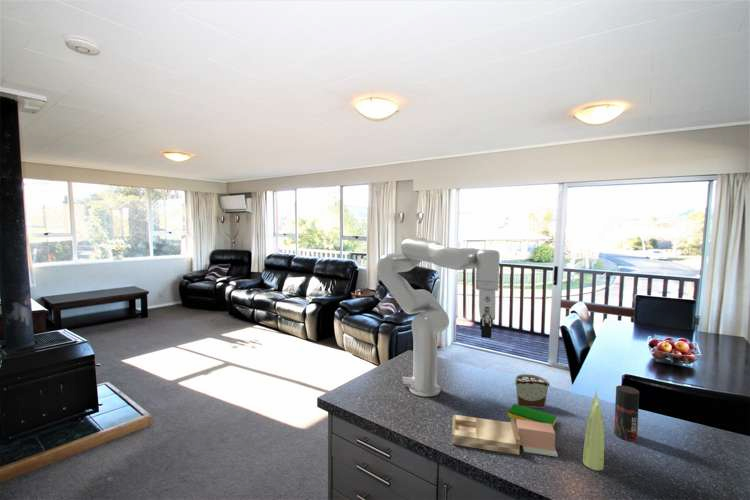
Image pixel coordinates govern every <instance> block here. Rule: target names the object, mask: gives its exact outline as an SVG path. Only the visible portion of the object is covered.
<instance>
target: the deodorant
mask: <svg viewBox="0 0 750 500" xmlns="http://www.w3.org/2000/svg"><path fill="white" fill-rule="evenodd" d="M639 402H640V391H639V389H636V388H634V387H631V386H627V385H617V386H616V387H615V403H614V404H615V405H614V406H615V409H614V422H613V423H614V425H613V427H614V428H613V434H614V436H616V437H617V438H618V439H621V440H623V441H627V442H637V440H638V428H639V426H638V424H639V409H640V408H639V406H640V403H639Z"/></svg>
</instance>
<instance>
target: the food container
mask: <svg viewBox="0 0 750 500" xmlns="http://www.w3.org/2000/svg"><path fill="white" fill-rule="evenodd" d="M513 384H514V385H515V386H516V387H515V388H516V400H517V402H516V404H517V405H520V406H524V407H527V408H537V407H541V409H545V408H546V402H547V401H546V400H547V394H548V389H549V387H550V382H549V380H548V379H546V378H544V377H542V376H539V375H534V374H526V373H525V374H524V373H522V374H519V375H516V377H515V378H514V382H513Z"/></svg>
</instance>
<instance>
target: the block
mask: <svg viewBox="0 0 750 500" xmlns="http://www.w3.org/2000/svg"><path fill="white" fill-rule="evenodd" d="M515 423H516V427H517V431H518V434H519V438H520V446H528V447H534V448H541V449H547V450H554V451H555V449H556V447H555V446H556V432H555V430H554V426H553V427H552V425H551V424H548V423H541V422H534V421H527V420H520V419H515Z"/></svg>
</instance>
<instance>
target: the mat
mask: <svg viewBox="0 0 750 500" xmlns="http://www.w3.org/2000/svg"><path fill="white" fill-rule="evenodd" d="M521 446H522V445H521ZM522 451H523V452H524V453H531V454H536V455H544V456H549V457H550V456H552V457H557V458H558V457H559V455H558V452H557V450H556V448H555V451H554V450H547V449H541V448H534V447H528V446H522Z"/></svg>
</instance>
